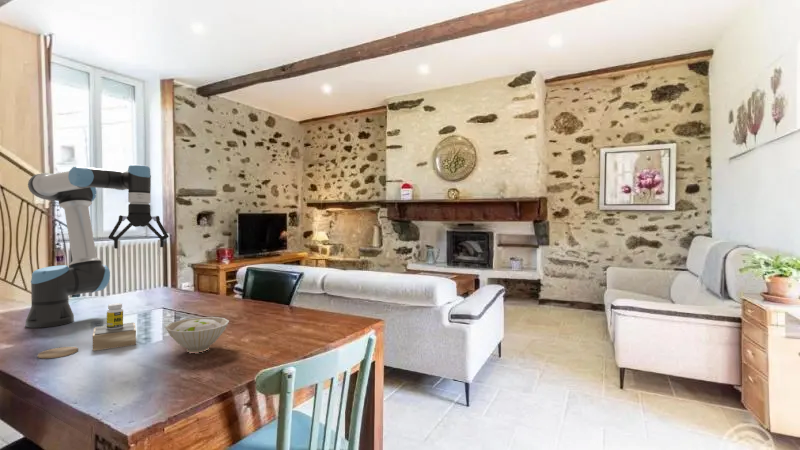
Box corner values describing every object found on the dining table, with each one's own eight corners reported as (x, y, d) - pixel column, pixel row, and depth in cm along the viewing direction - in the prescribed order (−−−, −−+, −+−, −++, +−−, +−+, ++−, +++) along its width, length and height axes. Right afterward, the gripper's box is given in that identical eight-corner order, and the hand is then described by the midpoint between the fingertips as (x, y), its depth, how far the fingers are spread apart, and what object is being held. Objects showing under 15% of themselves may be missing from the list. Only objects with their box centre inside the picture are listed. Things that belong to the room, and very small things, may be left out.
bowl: (163, 363, 122) (163, 331, 122) (166, 345, 139) (166, 317, 139) (231, 354, 131) (231, 324, 131) (227, 338, 148) (227, 311, 148)
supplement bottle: (114, 330, 139) (114, 306, 138) (103, 329, 140) (103, 305, 139) (126, 326, 143) (126, 303, 143) (115, 325, 144) (115, 302, 144)
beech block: (94, 341, 143) (94, 326, 143) (134, 336, 150) (134, 322, 150) (92, 350, 133) (92, 334, 133) (135, 344, 140) (135, 329, 140)
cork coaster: (40, 351, 131) (40, 350, 131) (79, 346, 137) (79, 344, 137) (35, 360, 123) (35, 358, 123) (76, 354, 129) (76, 352, 129)
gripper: (100, 202, 151) (100, 258, 152) (175, 204, 166) (175, 255, 166) (101, 202, 157) (101, 256, 158) (173, 204, 172) (173, 254, 172)
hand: (139, 256), depth 162 cm, fingers open, 13 cm apart
